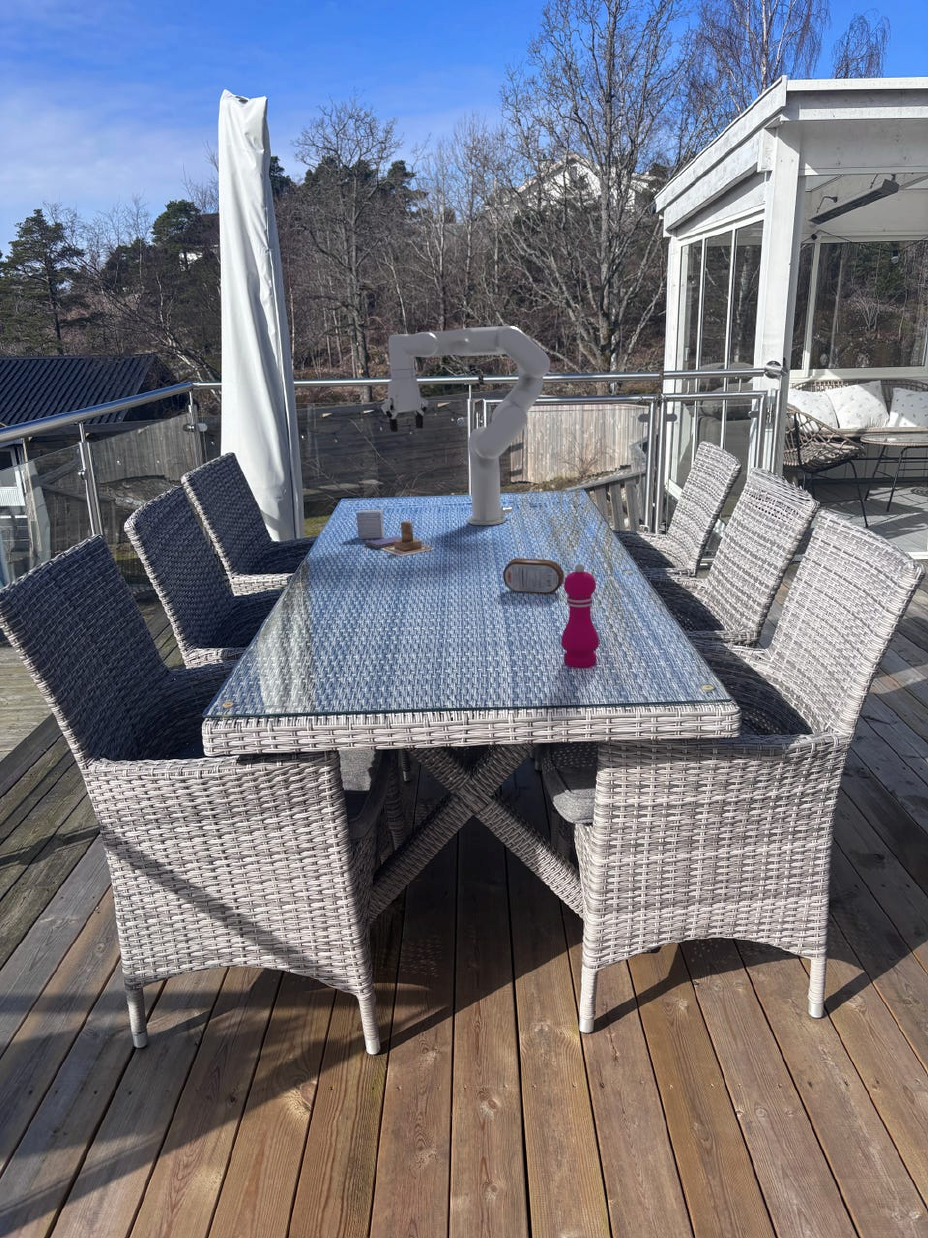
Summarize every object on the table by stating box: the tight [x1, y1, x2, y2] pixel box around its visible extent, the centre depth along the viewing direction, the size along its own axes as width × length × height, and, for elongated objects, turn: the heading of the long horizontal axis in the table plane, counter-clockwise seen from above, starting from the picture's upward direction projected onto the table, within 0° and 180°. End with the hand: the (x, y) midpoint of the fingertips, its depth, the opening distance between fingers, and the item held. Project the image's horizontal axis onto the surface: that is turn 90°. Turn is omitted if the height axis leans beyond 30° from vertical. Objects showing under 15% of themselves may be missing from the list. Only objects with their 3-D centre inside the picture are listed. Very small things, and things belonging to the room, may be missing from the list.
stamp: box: [394, 520, 423, 552], centre depth 268 cm, size 6×6×8 cm
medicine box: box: [355, 509, 386, 540], centre depth 286 cm, size 8×4×9 cm, turn 84°
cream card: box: [380, 544, 435, 558], centre depth 269 cm, size 12×12×1 cm
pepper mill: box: [560, 563, 600, 669], centre depth 171 cm, size 7×7×20 cm
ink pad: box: [364, 535, 402, 551], centre depth 277 cm, size 12×8×1 cm, turn 124°
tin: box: [502, 557, 565, 595], centre depth 219 cm, size 15×3×8 cm, turn 71°
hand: (407, 429), depth 288 cm, fingers open, 9 cm apart
